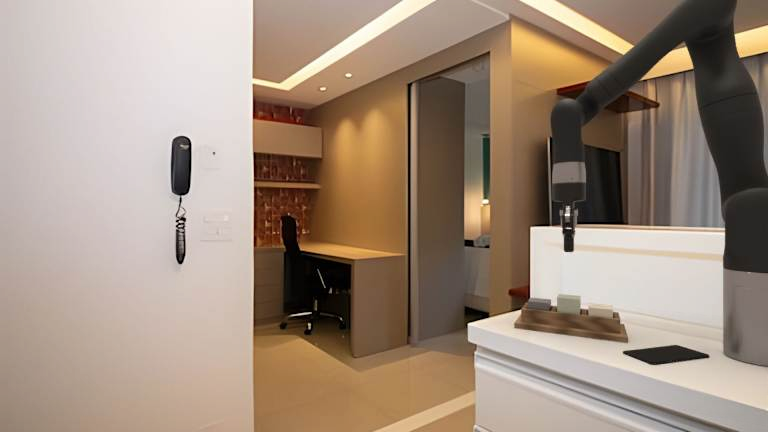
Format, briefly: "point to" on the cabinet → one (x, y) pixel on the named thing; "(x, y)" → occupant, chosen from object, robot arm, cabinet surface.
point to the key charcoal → (539, 304)
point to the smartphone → (665, 354)
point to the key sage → (569, 304)
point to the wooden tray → (572, 324)
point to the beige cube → (600, 310)
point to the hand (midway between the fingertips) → (568, 251)
